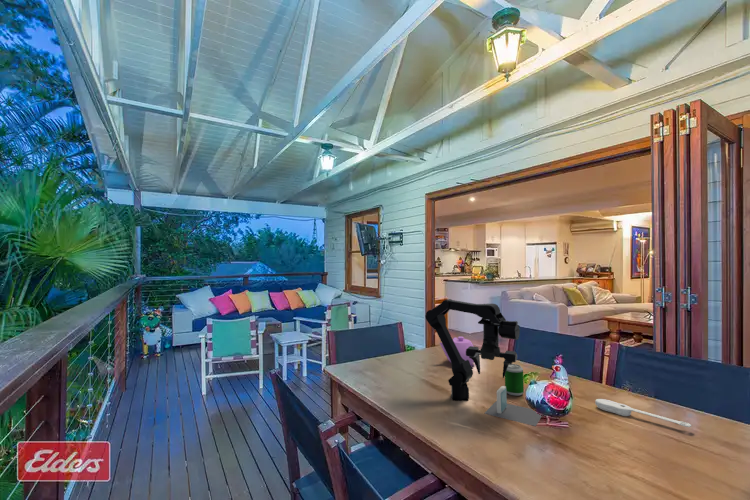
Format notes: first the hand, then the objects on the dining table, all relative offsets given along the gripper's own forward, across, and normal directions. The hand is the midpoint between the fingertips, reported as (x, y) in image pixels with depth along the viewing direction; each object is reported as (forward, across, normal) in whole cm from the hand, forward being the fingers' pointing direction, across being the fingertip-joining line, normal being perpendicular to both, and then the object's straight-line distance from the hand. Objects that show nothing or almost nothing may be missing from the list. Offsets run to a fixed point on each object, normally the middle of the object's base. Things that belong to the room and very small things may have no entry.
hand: (491, 375), depth 139 cm
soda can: (+12, +6, +18) cm, 22 cm away
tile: (+12, +4, -2) cm, 13 cm away
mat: (+12, +9, -3) cm, 15 cm away
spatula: (+11, +49, +13) cm, 52 cm away
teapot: (+13, -28, +51) cm, 60 cm away
